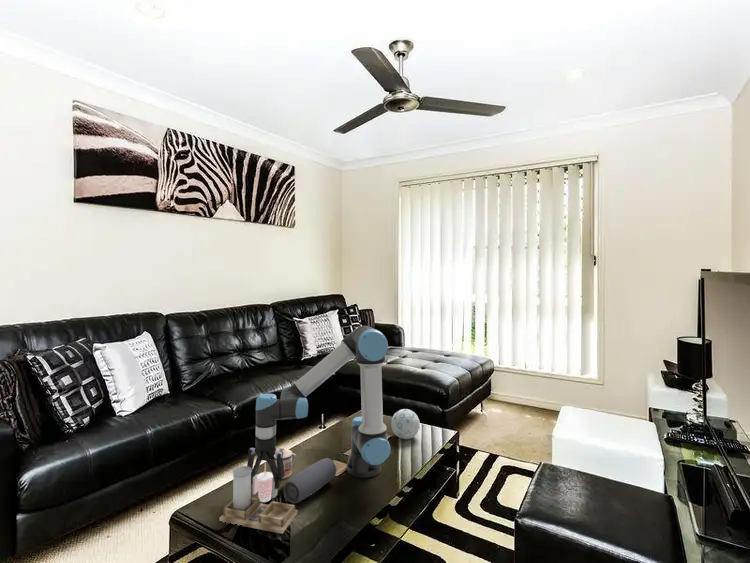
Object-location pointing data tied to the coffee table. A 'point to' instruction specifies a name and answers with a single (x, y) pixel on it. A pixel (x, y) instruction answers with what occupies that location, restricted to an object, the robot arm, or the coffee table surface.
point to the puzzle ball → (405, 424)
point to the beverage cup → (265, 485)
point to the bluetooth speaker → (309, 480)
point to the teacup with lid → (286, 461)
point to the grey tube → (242, 488)
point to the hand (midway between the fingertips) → (264, 494)
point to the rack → (261, 515)
